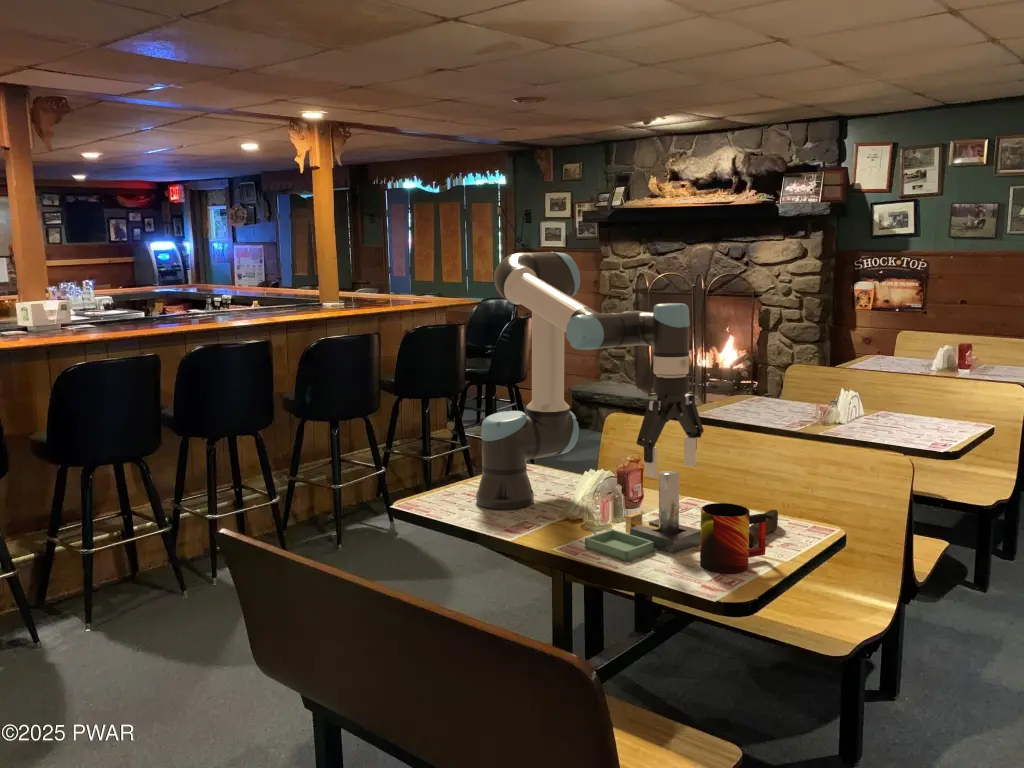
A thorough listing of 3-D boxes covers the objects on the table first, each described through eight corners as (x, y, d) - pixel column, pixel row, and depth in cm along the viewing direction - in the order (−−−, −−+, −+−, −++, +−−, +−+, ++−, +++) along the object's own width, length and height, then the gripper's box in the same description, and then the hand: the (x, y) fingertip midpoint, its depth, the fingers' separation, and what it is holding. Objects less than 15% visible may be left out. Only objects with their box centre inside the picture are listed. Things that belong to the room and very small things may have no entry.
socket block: (630, 541, 188) (630, 528, 187) (658, 531, 194) (658, 518, 194) (673, 554, 179) (673, 541, 178) (701, 543, 185) (701, 530, 185)
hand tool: (752, 550, 181) (752, 530, 180) (735, 546, 184) (735, 526, 183) (788, 529, 195) (788, 510, 195) (771, 525, 198) (772, 506, 197)
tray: (584, 547, 184) (584, 538, 184) (612, 538, 190) (612, 529, 189) (626, 561, 175) (626, 551, 175) (653, 551, 181) (654, 541, 180)
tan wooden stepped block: (625, 532, 193) (625, 515, 192) (636, 528, 195) (637, 511, 195) (651, 540, 187) (651, 522, 186) (662, 536, 190) (662, 519, 189)
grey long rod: (654, 543, 186) (654, 473, 184) (667, 538, 189) (666, 469, 187) (671, 548, 183) (670, 476, 180) (683, 543, 186) (683, 472, 183)
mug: (765, 559, 175) (767, 504, 173) (734, 578, 165) (735, 520, 163) (724, 549, 182) (725, 496, 180) (691, 567, 171) (692, 510, 170)
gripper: (647, 382, 169) (647, 484, 172) (719, 371, 185) (718, 464, 188) (619, 379, 175) (620, 478, 178) (692, 368, 191) (691, 459, 194)
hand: (670, 471), depth 183 cm, fingers open, 13 cm apart
